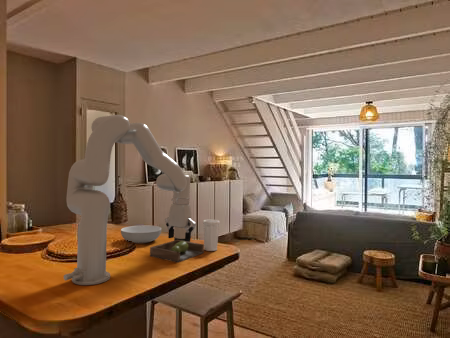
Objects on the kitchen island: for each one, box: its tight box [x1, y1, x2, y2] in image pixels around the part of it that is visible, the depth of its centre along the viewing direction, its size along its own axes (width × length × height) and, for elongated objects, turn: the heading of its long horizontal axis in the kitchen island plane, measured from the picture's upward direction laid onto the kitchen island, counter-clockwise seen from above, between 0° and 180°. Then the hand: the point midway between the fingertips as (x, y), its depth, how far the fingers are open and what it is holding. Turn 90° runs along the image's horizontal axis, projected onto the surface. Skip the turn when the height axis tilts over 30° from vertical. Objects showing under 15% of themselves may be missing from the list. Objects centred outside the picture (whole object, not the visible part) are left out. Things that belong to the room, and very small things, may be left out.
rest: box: [149, 240, 205, 263], centre depth 153 cm, size 19×16×4 cm
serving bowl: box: [120, 224, 162, 244], centre depth 176 cm, size 21×21×7 cm
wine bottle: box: [173, 226, 191, 242], centre depth 170 cm, size 8×8×30 cm
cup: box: [202, 219, 221, 252], centre depth 163 cm, size 8×8×14 cm
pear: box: [171, 241, 188, 253], centre depth 151 cm, size 6×5×10 cm
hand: (179, 239), depth 151 cm, fingers open, 9 cm apart
